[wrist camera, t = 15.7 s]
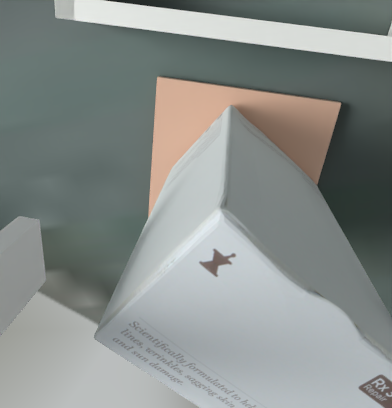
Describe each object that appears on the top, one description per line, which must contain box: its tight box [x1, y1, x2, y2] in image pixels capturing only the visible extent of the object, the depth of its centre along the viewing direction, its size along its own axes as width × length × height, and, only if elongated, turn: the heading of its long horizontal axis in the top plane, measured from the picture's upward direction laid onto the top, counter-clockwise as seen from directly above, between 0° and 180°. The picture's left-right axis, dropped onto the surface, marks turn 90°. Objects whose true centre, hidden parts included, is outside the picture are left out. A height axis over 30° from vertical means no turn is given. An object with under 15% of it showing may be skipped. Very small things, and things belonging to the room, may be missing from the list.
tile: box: [148, 76, 341, 218], centre depth 23 cm, size 11×11×1 cm
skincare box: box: [94, 105, 392, 408], centre depth 16 cm, size 8×6×15 cm
